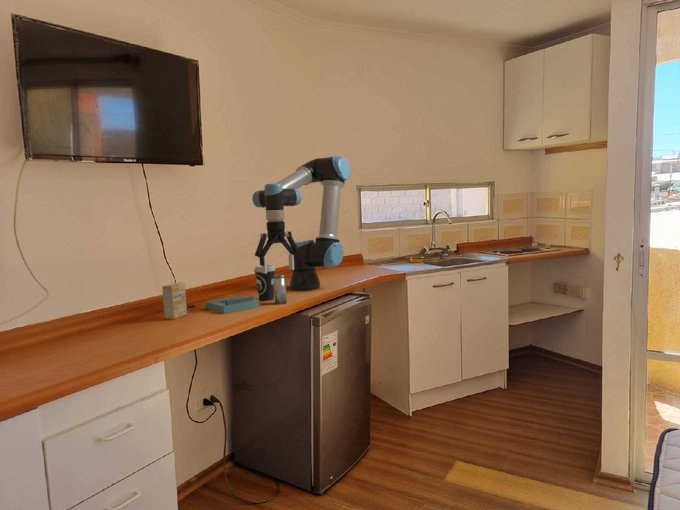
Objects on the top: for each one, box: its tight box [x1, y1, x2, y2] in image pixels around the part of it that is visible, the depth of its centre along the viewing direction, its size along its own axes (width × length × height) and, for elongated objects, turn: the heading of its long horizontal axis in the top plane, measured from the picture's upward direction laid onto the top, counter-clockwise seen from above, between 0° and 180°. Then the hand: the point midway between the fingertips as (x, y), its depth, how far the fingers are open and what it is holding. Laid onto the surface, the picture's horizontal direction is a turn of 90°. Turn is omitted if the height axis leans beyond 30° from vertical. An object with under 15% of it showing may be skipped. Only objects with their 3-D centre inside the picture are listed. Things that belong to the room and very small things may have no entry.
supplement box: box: [161, 282, 188, 320], centre depth 203 cm, size 8×5×13 cm, turn 160°
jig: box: [205, 295, 260, 314], centre depth 216 cm, size 16×16×5 cm
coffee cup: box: [253, 264, 276, 302], centre depth 231 cm, size 10×10×15 cm
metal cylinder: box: [273, 273, 287, 305], centre depth 220 cm, size 5×5×12 cm
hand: (278, 271), depth 219 cm, fingers open, 13 cm apart
